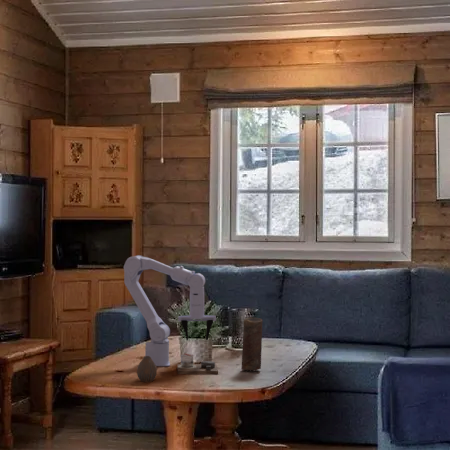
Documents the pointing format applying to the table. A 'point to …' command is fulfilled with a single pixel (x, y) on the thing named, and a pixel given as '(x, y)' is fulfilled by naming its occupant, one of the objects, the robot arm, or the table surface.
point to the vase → (146, 369)
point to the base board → (199, 368)
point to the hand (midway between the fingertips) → (197, 339)
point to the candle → (252, 344)
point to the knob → (187, 360)
